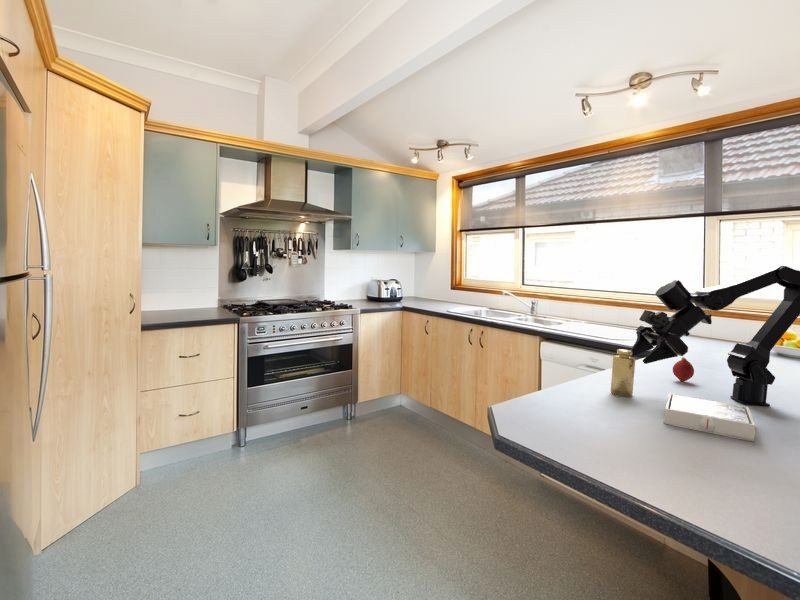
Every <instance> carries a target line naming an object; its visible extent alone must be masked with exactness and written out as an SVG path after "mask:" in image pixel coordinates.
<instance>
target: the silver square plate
mask: <svg viewBox="0 0 800 600" xmlns="http://www.w3.org/2000/svg"><path fill="white" fill-rule="evenodd" d="M676 395H677V394H675V395H673V398H672V402H671V407H670V409H673V410H678V411H684V412H689V413H694V414H700V415H705V416H710V417H716V418H721V419H727V420H732V421H737V422H743V423H748V424H749V420H748V418H747V415H746V412H745V409H744V407H741V406H742V405H740V406H735V405H736V404H734V405H729V404H730V403H728V404H723V403H724V402H722V403H718V402H719V401H716V402H712V401H713V400H710V401H706V400H707V399H705V400H700V399H701V398H699V399H694V398H695V397H693V398H688V397H689V396H687V397H682V396H683V395H681V396H676Z"/></svg>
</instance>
